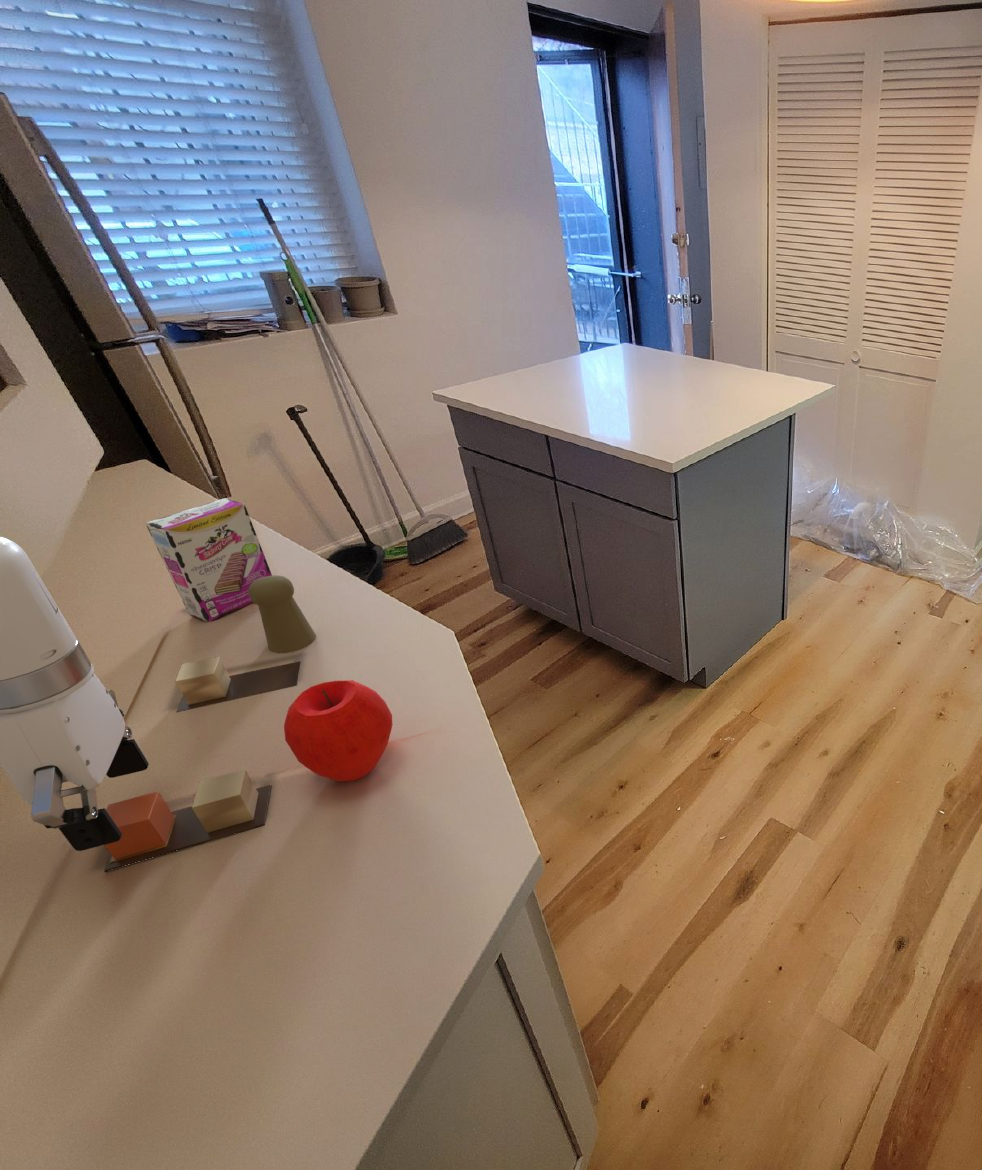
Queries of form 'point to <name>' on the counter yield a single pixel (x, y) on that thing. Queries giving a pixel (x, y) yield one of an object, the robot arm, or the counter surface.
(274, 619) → the olive green shaker
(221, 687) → the grey rectangular tray
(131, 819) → the orange rounded box
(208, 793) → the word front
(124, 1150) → the counter surface
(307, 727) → the apple
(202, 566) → the candy bar box
